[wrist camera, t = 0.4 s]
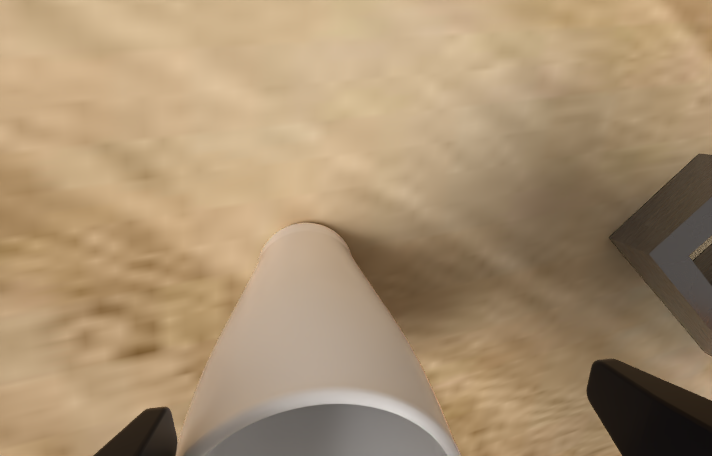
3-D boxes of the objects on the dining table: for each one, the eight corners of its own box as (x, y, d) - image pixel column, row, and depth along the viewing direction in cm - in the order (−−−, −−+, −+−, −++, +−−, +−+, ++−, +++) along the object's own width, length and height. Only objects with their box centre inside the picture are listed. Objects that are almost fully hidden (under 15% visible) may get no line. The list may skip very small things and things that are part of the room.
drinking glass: (371, 213, 22) (506, 392, 8) (354, 319, 24) (441, 622, 10) (249, 200, 21) (148, 386, 7) (241, 313, 23) (148, 650, 8)
